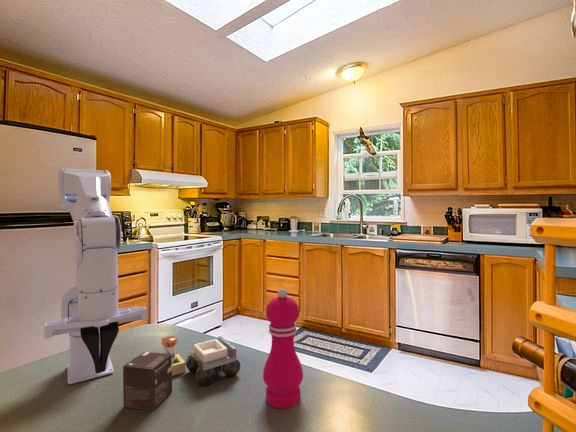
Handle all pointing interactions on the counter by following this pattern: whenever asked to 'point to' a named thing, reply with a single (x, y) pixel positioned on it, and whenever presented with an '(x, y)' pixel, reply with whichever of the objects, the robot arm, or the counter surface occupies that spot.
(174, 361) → the pin
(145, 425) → the counter surface
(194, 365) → the trolley
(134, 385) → the box
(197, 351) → the tray
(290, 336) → the pepper mill
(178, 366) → the collar
